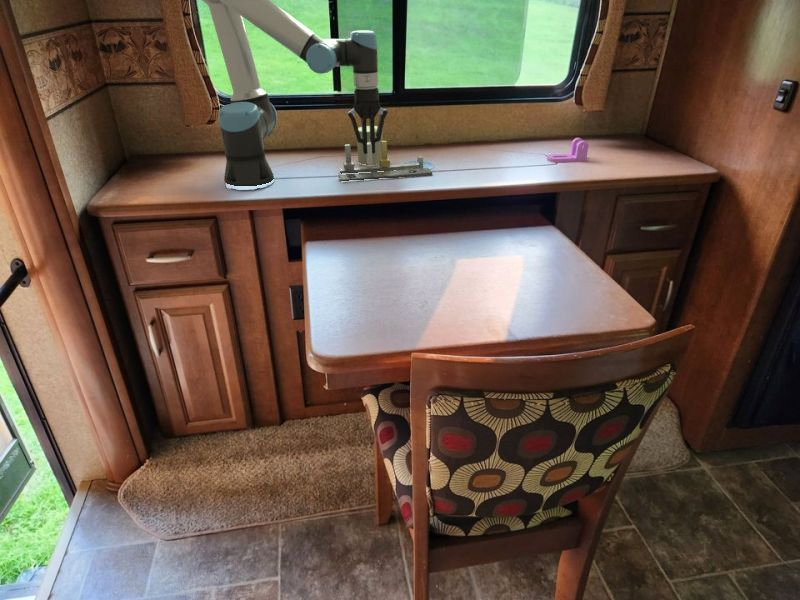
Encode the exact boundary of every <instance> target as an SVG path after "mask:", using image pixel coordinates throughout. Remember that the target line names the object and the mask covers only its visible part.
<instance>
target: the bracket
mask: <svg viewBox="0 0 800 600" xmlns="http://www.w3.org/2000/svg"><path fill="white" fill-rule="evenodd" d="M588 150H589V143H588V142H587V141H585V140H583V139H582V138H581V137H575V138H574V139H573V140H572V141H571V146H570V150H569V151H570V153H559V154H549V155H547V156H546V161H547V162H550V163H577V162H578V163H579V162H587V158H588V153H589V151H588Z"/></svg>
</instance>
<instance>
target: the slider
mask: <svg viewBox="0 0 800 600" xmlns="http://www.w3.org/2000/svg"><path fill="white" fill-rule="evenodd" d="M381 155H382V159H379V165H378V166H381V167H390V165H391V161H390V159H389V158H388V142H387V140H383V141H381Z"/></svg>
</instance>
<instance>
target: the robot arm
mask: <svg viewBox="0 0 800 600" xmlns="http://www.w3.org/2000/svg"><path fill="white" fill-rule="evenodd" d="M201 1H202V2H203V3H204V4H206V5H207V6H208V8H209V11H210V15H211V18H212V23H213V26H214V29H215V33H216V37H217V41H218V43H219V47H220V50H221V54H222V57H223V60H224V63H225V67H226V72H227V74H228V78H229V81H230V85H231V88H232V91H233V93H232V95H231V97H230V103H229V104H225V105H223V106H221V107H220V109H219V110H218V112H217V113H218V115H217V116H218V124H219V127H220V128H219V129H220V132H221V133H220V134H221V138H222V143H223V144H222V145H223V147H224V148H223V149H224V154H225V158H226V159H225V160H226V161H225V162H226V163H225V169H224V175H223V176H224V177H223V179H224V180H223V182H224V181H225V182H226V183H227V184H230V185H234V186H257V185H262V184H266V183H269V182H271V181H272V180H273V179H274V180H275V178H274V173H273V171H272V168H271V166H270V165H269V163H268V162H269V161H268V160H267V158H266V153H265V147H264V139H266V138H267V137H268V136H270V135H271V134H272V133H273V132H274V130H275V129H276V127H277V124H278V113H277V110H276V108H275V106H274V105H273V104H272V102H270V98H269V95H268V91H266V90H264V89H263V87H261V84H260V80H259V79H260V78H259V76H258V72H257V68H256V64H255V61H254V57H253V52H252V49H251V45H250V42H249V41H250V40H249V38H248V34H247V33H248V32H247V31H246V30H247V29H246V26H245V23H244V19H245V20H246V21H248V22H249V23H251V24H252V25H254V27H256V28H257V29H259V30H261V31H262V32H263V33H264V34H266V35H267V36H269V37H270V38H271V39H273V40H274V41H276V42H277V43H279V44H280V45H282V46H283V47H284V48H286V49H287V50H289V51H290V52H291V53H293V54H294V55H296V56H297V57H299V59H301V60H302V61H304V62H305V63H306V64H307V67H308V68H309V69H310V71H313V72H314V73H315V74H320V75H321V74H327V73H329V72H331V71H333V69H334V68H336V67H339V68H341V67H352V73H353V76H352V77H353V87H355V88H354V89H353V91H354V92H353V93H354V104H353V106H352V109H351V110H349V111H347V112H346V113H347V114H346V115H347V116H348V117H349V119H350V121H351V125H352V128H353V131H354V134H355V139H356V142H357V141H358V142H359V143H362V144H363V152H364V154H366V157H367V164H368V165H370V164H373V161H372V153H375V143H376V142H378V141H380V140H381V134H382V129H383V130H384V123H385V119H386V116H388V110H387V109H386V108H383V107H381V103H380V95H379V94H380V93H379V92H380V91H379V88H378V86H379V75H378V74H379V69H378V64H379V63H378V61H379V60H378V59H379V58H378V45H377V44H378V43H377V34H376V32H375V31H373V30H354V31H351V33H350V37H349V38H321V36H319V35H317V34H315V33H314V31H312V30H311V29H309V28H308V27H307V26H305V25H303V24H302V22H299V21H298V20H297V19H296V18H294V17H293V16H292V15H290V14H289V13H287V12H286V11H285V10H283V9H282V8H280V7H279V6H278V5H277V4H275V3H274V2H272V1H271V0H201ZM356 114H357V116H359V118H360V121H361V127H362V138H361V137H360V133H359V130H358V128H359V127H358V123H357V120H356V118H355V117H356ZM378 114H379V118H378V122H377V126H378V127H377V132H376V137H375V127H374V126H375V118H376V116H377V115H378ZM367 119H368V121H369V122H368V123H369V125H367ZM367 126H370V142H368V143H367ZM225 182H224V183H225Z"/></svg>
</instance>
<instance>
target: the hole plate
mask: <svg viewBox="0 0 800 600" xmlns="http://www.w3.org/2000/svg"><path fill="white" fill-rule="evenodd" d="M415 176H416V177H427V176H433V171H432V170H431V169H430V168H429V167H423V168H421V169H409V170H396V171H384V172H371V173H359V174H346V175H340V174H338V179H339V178H340V180H341V181H349V180H364V179H379V178H393V179H400V178H399V177H405V178H415ZM340 180H339V181H340Z"/></svg>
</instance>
